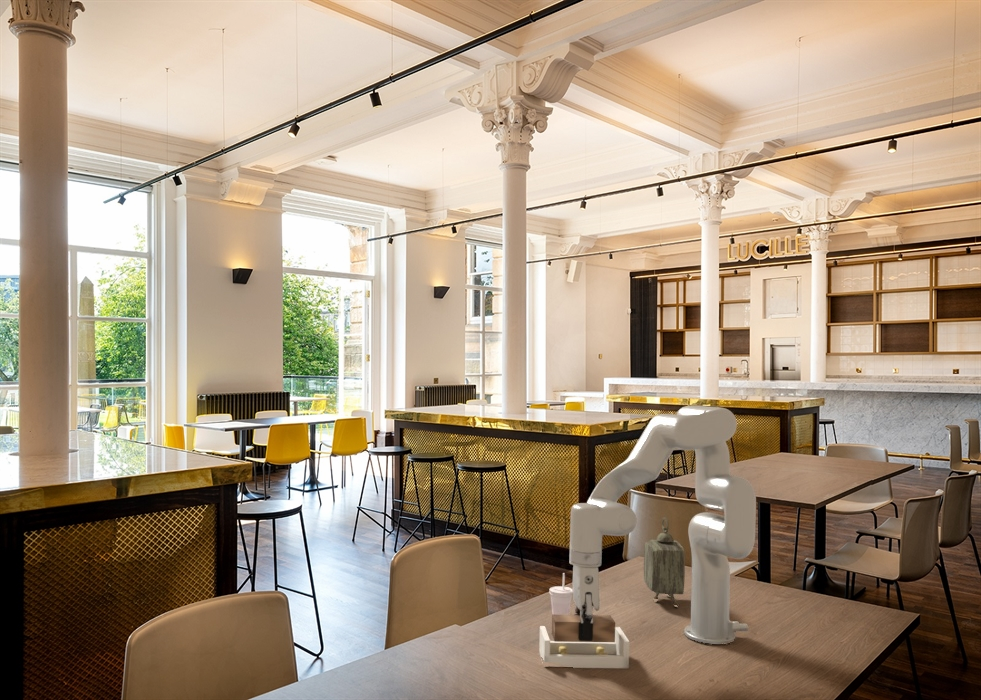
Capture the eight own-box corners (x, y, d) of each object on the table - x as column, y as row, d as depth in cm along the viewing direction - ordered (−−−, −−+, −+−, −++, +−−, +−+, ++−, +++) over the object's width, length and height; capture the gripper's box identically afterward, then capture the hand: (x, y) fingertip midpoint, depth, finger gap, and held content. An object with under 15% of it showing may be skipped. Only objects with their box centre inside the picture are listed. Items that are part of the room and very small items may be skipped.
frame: (619, 652, 170) (619, 627, 170) (628, 668, 160) (629, 641, 161) (539, 651, 169) (539, 626, 169) (544, 667, 159) (544, 640, 160)
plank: (610, 634, 168) (610, 615, 168) (614, 642, 163) (615, 622, 163) (551, 633, 167) (552, 614, 167) (554, 641, 162) (555, 621, 162)
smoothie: (571, 631, 183) (572, 577, 183) (546, 629, 184) (548, 575, 185) (573, 623, 189) (574, 570, 190) (549, 621, 190) (551, 568, 191)
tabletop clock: (684, 610, 203) (685, 523, 204) (652, 609, 203) (654, 522, 204) (671, 595, 217) (673, 513, 218) (642, 594, 217) (644, 512, 218)
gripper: (609, 567, 157) (606, 650, 156) (594, 548, 174) (591, 623, 173) (575, 566, 157) (573, 649, 156) (564, 548, 174) (561, 623, 173)
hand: (583, 634), depth 165 cm, fingers closed on plank, 5 cm apart
